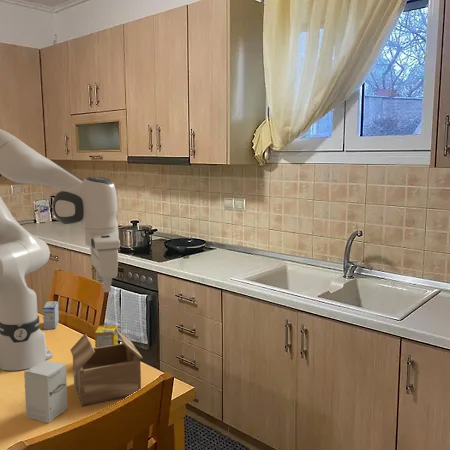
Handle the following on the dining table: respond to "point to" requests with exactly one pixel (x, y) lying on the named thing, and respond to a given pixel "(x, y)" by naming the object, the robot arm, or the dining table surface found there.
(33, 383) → the supplement box
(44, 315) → the medicine box
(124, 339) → the flap
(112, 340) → the supplement box
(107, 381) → the carton
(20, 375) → the dining table surface
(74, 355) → the flap
